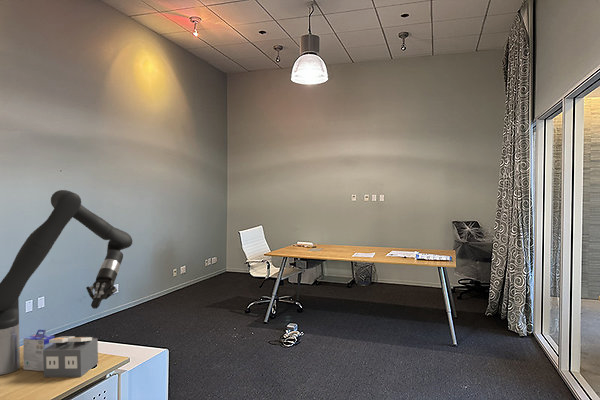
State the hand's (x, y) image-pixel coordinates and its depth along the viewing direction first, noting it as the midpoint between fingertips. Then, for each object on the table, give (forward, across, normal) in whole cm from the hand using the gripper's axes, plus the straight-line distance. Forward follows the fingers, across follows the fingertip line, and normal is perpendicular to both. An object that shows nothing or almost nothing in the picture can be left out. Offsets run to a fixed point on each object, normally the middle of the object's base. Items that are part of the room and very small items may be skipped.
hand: (94, 307), depth 163 cm
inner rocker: (+14, -7, 0) cm, 15 cm away
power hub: (+22, -4, +8) cm, 24 cm away
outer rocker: (+14, 0, 0) cm, 14 cm away
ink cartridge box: (+21, -18, +9) cm, 29 cm away
